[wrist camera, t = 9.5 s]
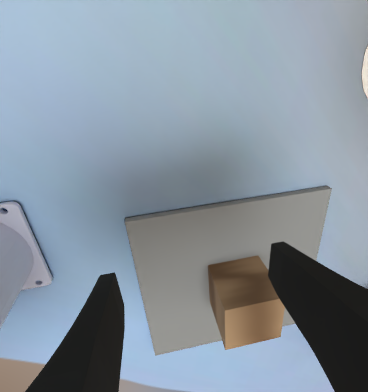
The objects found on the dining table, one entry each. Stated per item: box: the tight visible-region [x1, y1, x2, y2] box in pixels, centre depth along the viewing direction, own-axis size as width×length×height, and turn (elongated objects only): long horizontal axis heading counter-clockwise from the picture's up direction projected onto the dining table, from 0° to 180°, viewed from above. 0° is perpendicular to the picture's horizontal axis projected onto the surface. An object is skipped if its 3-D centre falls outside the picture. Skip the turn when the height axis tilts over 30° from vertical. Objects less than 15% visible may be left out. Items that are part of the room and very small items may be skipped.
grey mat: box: [125, 186, 332, 356], centre depth 25 cm, size 18×18×1 cm
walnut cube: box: [208, 256, 285, 350], centre depth 22 cm, size 5×5×5 cm
